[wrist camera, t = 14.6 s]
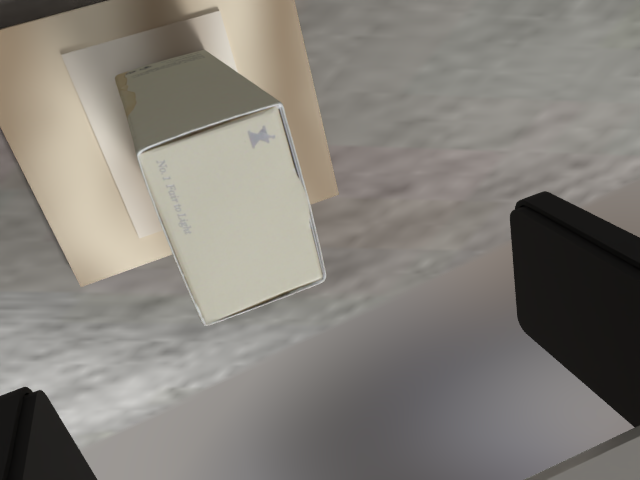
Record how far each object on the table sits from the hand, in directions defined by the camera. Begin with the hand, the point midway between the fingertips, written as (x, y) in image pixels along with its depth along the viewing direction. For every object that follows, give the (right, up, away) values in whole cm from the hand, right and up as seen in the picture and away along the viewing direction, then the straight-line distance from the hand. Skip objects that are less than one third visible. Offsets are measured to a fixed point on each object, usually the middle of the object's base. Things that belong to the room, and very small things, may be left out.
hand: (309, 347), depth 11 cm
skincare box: (-6, +7, +16) cm, 19 cm away
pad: (-7, +8, +17) cm, 20 cm away
